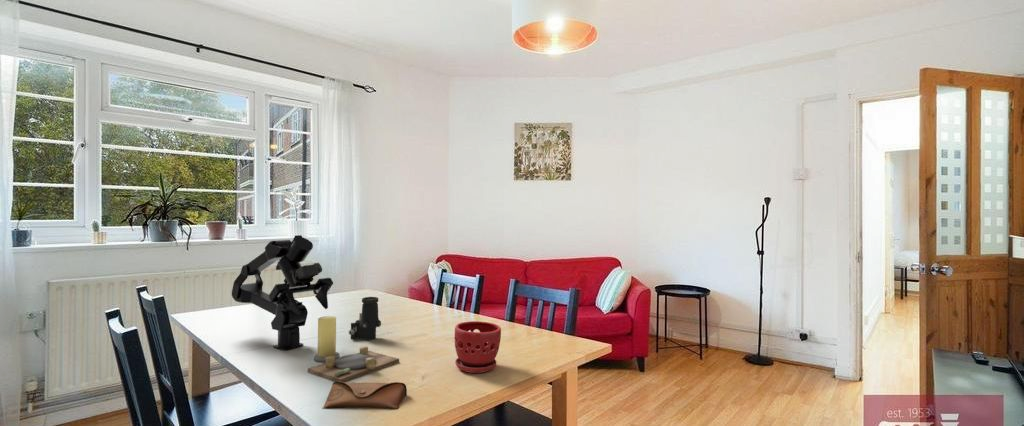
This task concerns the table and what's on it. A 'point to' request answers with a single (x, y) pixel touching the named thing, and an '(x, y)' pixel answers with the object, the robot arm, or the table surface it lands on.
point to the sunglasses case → (366, 395)
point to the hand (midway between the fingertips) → (313, 310)
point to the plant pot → (476, 346)
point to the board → (352, 365)
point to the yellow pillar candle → (326, 339)
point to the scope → (366, 320)
